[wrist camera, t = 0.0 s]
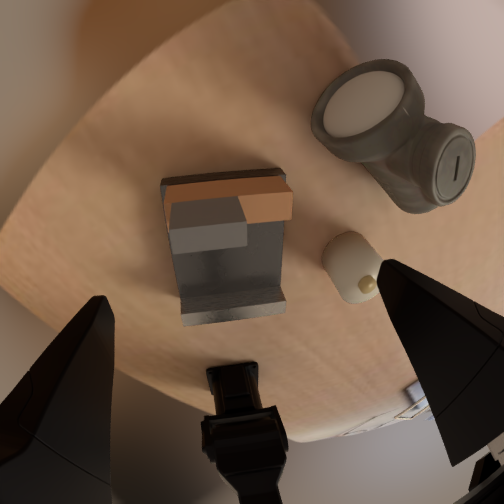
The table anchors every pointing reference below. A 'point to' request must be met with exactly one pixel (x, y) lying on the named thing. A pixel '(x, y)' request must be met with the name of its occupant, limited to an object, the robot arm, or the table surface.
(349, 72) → the pipe fitting
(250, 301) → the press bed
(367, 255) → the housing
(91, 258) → the table surface
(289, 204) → the tan and grey slab
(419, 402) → the photo frame
